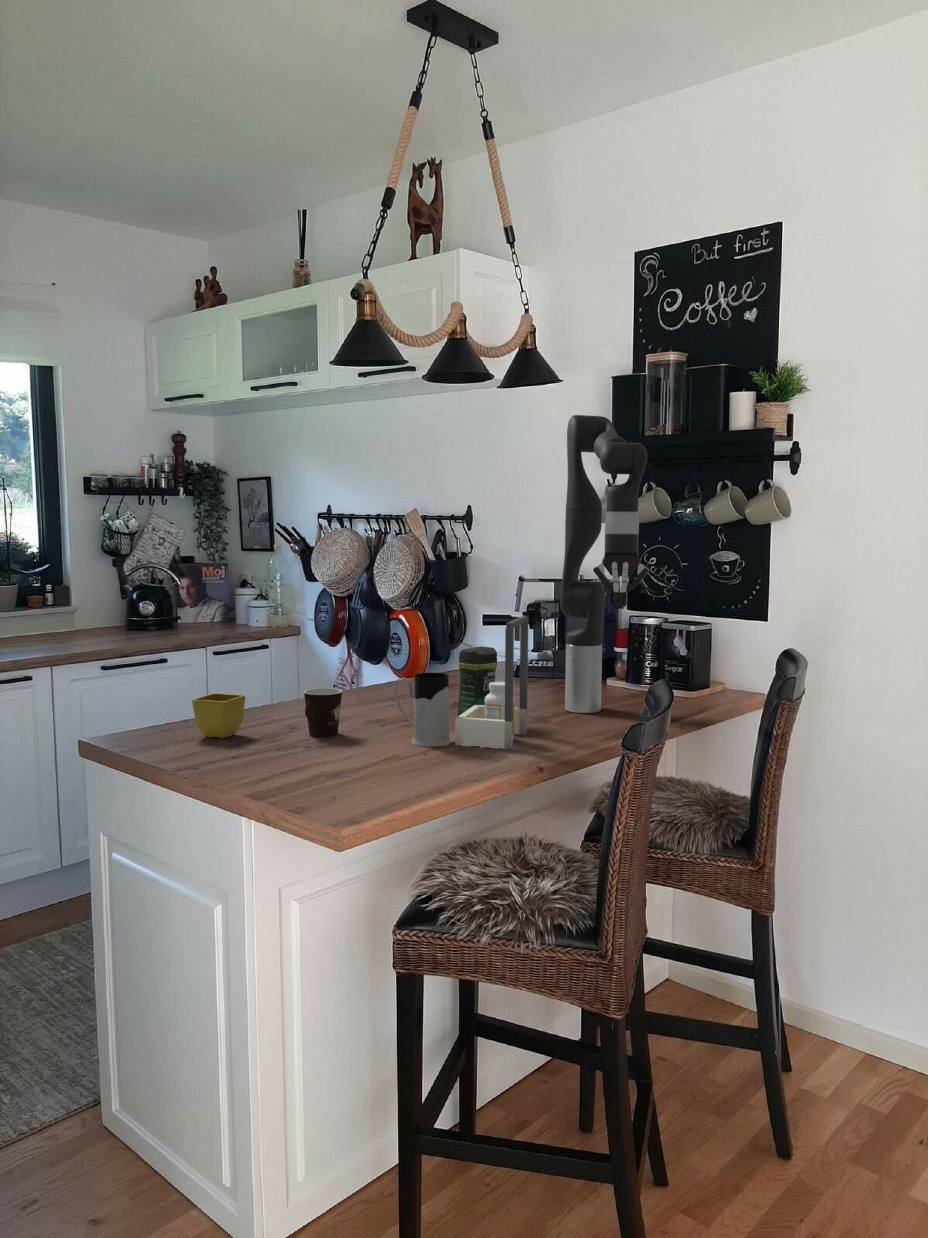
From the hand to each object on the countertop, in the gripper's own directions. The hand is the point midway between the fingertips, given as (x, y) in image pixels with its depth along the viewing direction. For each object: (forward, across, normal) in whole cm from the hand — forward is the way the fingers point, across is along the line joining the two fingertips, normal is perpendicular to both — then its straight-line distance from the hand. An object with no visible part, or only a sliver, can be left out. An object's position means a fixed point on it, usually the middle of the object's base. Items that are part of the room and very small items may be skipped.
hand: (620, 608), depth 220 cm
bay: (+29, +26, +14) cm, 41 cm away
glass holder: (+29, +41, +20) cm, 54 cm away
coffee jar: (+29, +34, -2) cm, 45 cm away
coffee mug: (+29, +65, +22) cm, 75 cm away
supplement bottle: (+29, +25, +14) cm, 41 cm away
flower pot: (+29, +86, +29) cm, 95 cm away
